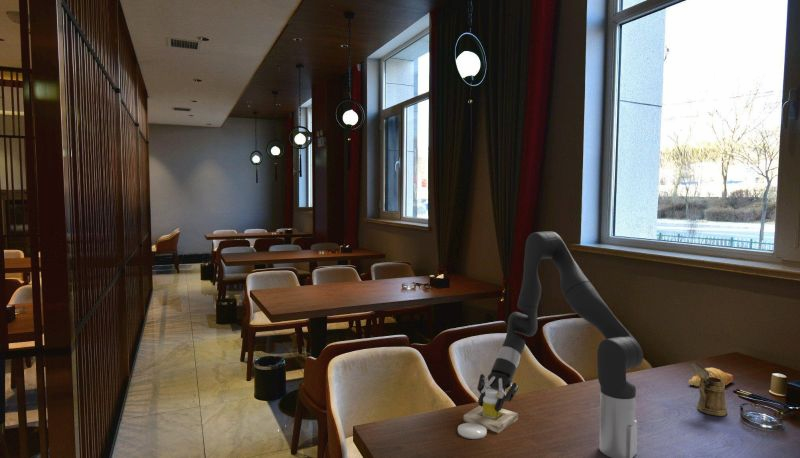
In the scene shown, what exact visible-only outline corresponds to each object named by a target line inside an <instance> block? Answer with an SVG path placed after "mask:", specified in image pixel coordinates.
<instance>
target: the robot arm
mask: <svg viewBox="0 0 800 458" xmlns="http://www.w3.org/2000/svg"><path fill="white" fill-rule="evenodd" d="M547 259H550V260H551V261H552V262H553V264H554V265H555V267H556V268H557V270H558V272H559V277H560V282H559V283H560V290H561V294H562V295H563V298H565V300H566V302H567V303H568V305H569V307H570V308H571V309H572V310H573V312H575V313H576V314H577V315H578V316H579V317H580V318H582V319H584V321H586V322H587V323H589V324H591V325H592V326H593V327H595V328H596V329H597V330H598V331H599V332H600V333H601V335H602V336H603V337H604V338H605V339H603V340H601V341H600V342H599V345H598V346H597V352H596V361H597V362H596V363H597V365H596V366H597V368H596V369H597V380H598V383H599V386H600V394H599V395H600V396H599V397H600V398H599V399H600V400H599V401H600V402H599V439H598V440H599V441H598V444H599V446H598V447H599V452H601V454H603V455H605V456H606V457H608V458H634V457H635V455H636V454H637V448H638V447H637V441H638V420H636V394H637V390H636V389H637V388H636V386H635V384H634V383H632V382H631V381H629V380H627V371H628V370H632V369H634V368H638V367H640V366H641V364H642V363H643V362H644V361H643V360H644V353H643V349H642V347H641V345H640V344H639V342H638V340H636V338H635V337H634V336H633V334H631V332H630V331H629V330H628V329H627V328H626V327H625V326H624V325H623V324H622V322H621V321H620V319H618V318H617V317H616V316H615V314H614V313H613V311H612V310H611V309H610V308H609V306H608V304H607V303H606V302H605V301H604V300H603V298H602V297H601V295H600V294H599V292H598V291H597V290H596V288H595V287H594V285H593V284H592V282H591V281H590V280H589V279H588V278H587V276H586V275H585V274H584V272H583V270H582V269H581V268H580V266H579V264H578V263H577V262H576V260H575V259H574V258H573V256H572V254H571V252H570V251H569V249H568V246H567V245H566V243H565V242H564V240H563V238H562V237H561V236H560V235H559V234H558V233H557V232H555V231H537V232H532V233H530V234H529V235H528V237H527V239H526V242H525V249H524V261H523V272H522V273H523V274H522V275H523V276H522V283H521V289H520V292H519V296H518V300H517V308H518V309H519V310H520V311H521V312H518V311H513V312H512V313H511V314H509V316H508V320H507V330H506V336H505V339H504V341H503V344H502V346H501V348H500V350H499V352H498V354H497V355H496V358H495V361H494V363H493V365H492V368H491V370H490V373H489V374H488V375H484V374H481V373H480V376H479V380H478V383H477V388H476V389H477V390H478V392H479V394H480V395H479V397H478V400H477V402H478V406H481V407H483V398H484V396H486V395H485V390H487V389H494V390H497V392H499V397H498V400H497V403H496V405H495V410H496V411H497V412H499V410H501V408H502V409H503V406H504V403H505V402H507V403H508V402H511V401H512V400H513V398H514V396H515V395H516V394H517V391H518V390H519V386H518V384H517V383H516V382H512V381H513V379H514V377H515V374H516V371H517V370H518V369H517V368H518V367H519V363H520V360H521V357H522V353H523V351H524V349H525V346H526V341H525V340H524V338H522V337H521V336H520V335H518V334H521V335H524V336H526V337H533V336H534V335H535V334H536V333H537V331H538V307H539V303H540V299H541V295H542V285H541V282H540V278H539V274H538V273H539V271H538V270H539V265H540V262H541V261H542V260H547ZM522 312H523V313H522ZM508 388H509V389H508ZM507 389H508V391H507Z"/></svg>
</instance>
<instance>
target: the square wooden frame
mask: <svg viewBox="0 0 800 458" xmlns="http://www.w3.org/2000/svg"><path fill="white" fill-rule="evenodd" d="M518 420H519V413H518V412H514V411H511V410H508V409H504V408H503V407H502V408H501V410H499V418H498V419H497V420H495V421H494V420H491V419H488V418H485V417H483V407H481V406H480V405H478V406H476V407H475V408H473V409H471V410H469V411H468V412H465V414H463V422H465V423H477V424H480V425H483V426H484V427H485V428H486V429H487V430H490V431H492V432H495V433H497V434H499V433H501V432H502V431H504V430H505V429H507V427H509V426H511V425H512V424H513V423H515V422H516V421H518Z"/></svg>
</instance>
